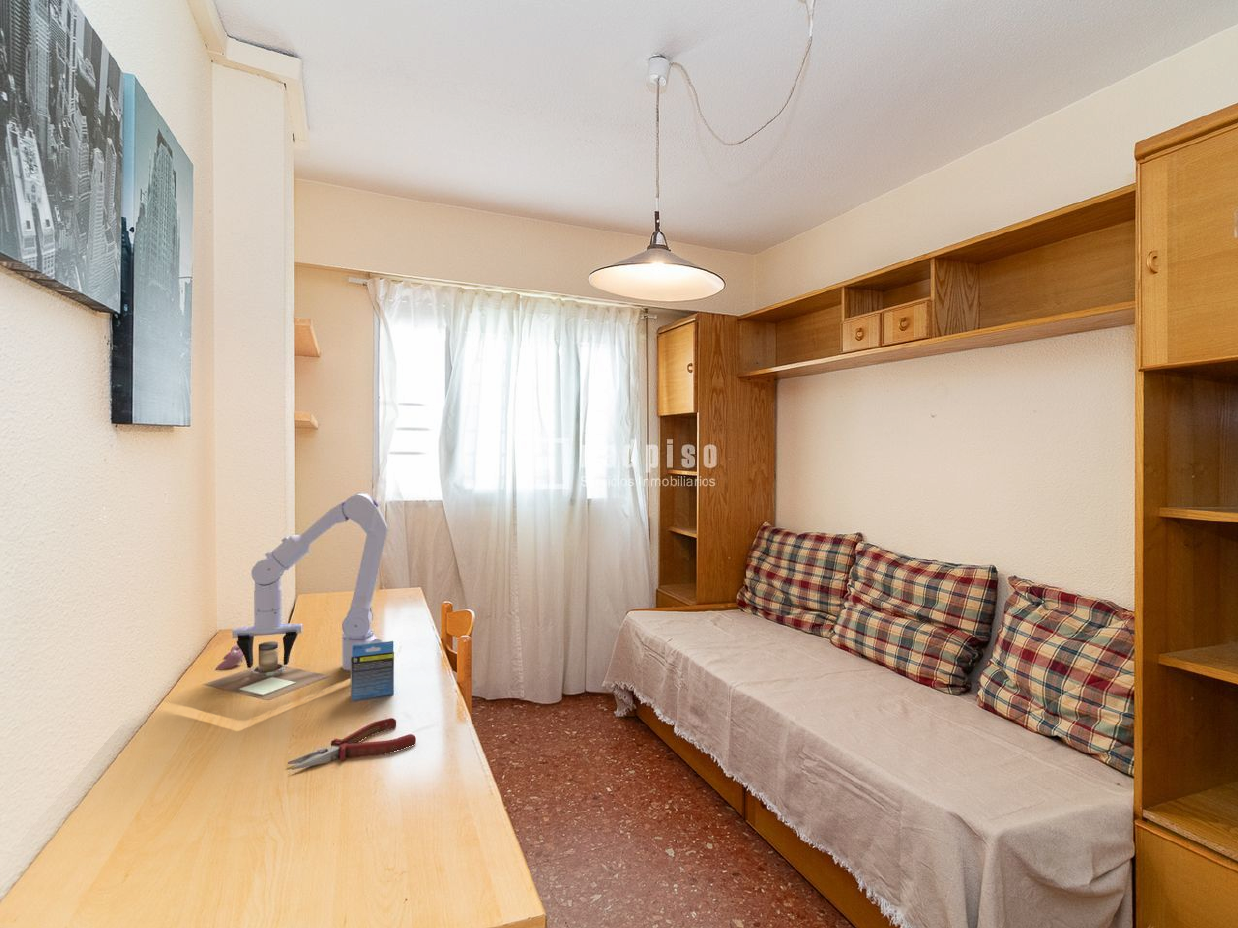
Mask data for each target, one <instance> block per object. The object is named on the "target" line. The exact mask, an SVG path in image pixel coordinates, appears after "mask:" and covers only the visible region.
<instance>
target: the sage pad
mask: <svg viewBox="0 0 1238 928" xmlns="http://www.w3.org/2000/svg"><path fill="white" fill-rule="evenodd" d="M294 684H296V682H292V681H288V680H283V679H279V678H274V677H271V678H268V679H265V680H263V681H260V682H257V683H254V684H251V685H248V686H246V687H243V688H240V689H239V690H240V691H244V692H248V693H252V694H256V695H261V696H265V695H268V694H270V693H273V692H276V691H278V690H281V689H283V688H286V687H289V686H291V685H294Z"/></svg>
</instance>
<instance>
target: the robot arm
mask: <svg viewBox="0 0 1238 928" xmlns="http://www.w3.org/2000/svg"><path fill="white" fill-rule="evenodd" d="M349 520H351V521H353V522H354V523H355V524H357V525H359V527H360V528H361V529H362V530H363V531H364V533H365V534H366V538H365V542H364V545H363V550H362V555H361V561H360V565H359V569H358V573H357V578H356V582H355V586H354V591H353V596H352V600H351V603H350V607H349V610H348V611H347V613H346V616H345V618H343V621H342V623H341V629H342V632H343V633H342V634H341V642H342V643H341V649H342V650H341V651H342V652H341V656H342V657H341V660H342V661H341V662H342V663H341V666H342V669H343V670H345V671H351V657H352V645H359V644H369V643H378V642H383V640H382V639H380V638H378V637H377V636H376V635H375V634H374V633H375V632H374V630H373V629H372V628H371V623H372V621H373V620H374V619H373V618H374V613H373V607H372V605H373V600H374V596H375V595H374V594H375V589H376V585H377V580H378V577H379V576H378V575H379V570H380V567H381V562H382V557H383V553H384V550H385V549H384V547H385V543H386V539H387V536H388V534H387V533H388V524H387V522H386V520H385V517H384V515H383V512H382V510H381V508H380V505H379V503H378V502H377V501H376V500H375V499H374V497H373V496H372V495H370V494H369V493H366V492H357V493H355V494H353V495H351V496H350V497H348V498H347V499H345V500H344V501H342V502H340V503H339V504H337V505H336V506H333V507H332V508H331V509H329V510H328V511H327V512H326V513H324V515H322V516H321V517H320V518H319V519H317V521H315V522H314V523H313V524H312V525H311V526H309V527H308V528H307V529H305V530H304V532H302V533H301V534H292V535H289V536H285V537H284V538H283V539H281V542H282V543H280V544H279V545H277V547H275V548H274V549H273V550H272V551H267V553H265V554H264V555H265V558H262V559H261V560H258V561H257V562H256V564H254V566H252V569H251V573H250V574H251V578H252V580H253V581H254V595H253V597H254V598H253V599H254V601H253V603H254V604H253V605H254V606H253V608H254V610H253V611H254V612H253V615H254V617H253V618H254V621H253V622H254V625H250V626H243V627H235V628H234V629H232V632H231V633H232V639H237V640H236V645H238V646H239V648H240V649H241V651H242V653H243V658H244V660H245V662H246V667H247V669H250V668H253V667H254V638H255V637H259V636H260V637H261V636H262V637H263V636H273V635H284V636H283V637H282V641H283V642H282V643H283V664H284V665H285V666H287V665H289V662H290V657H291V653H292V649H293V646H294V643H295V641H296V640H297V637H298V635H299V634H302V633H303V628H304V627H303V625H304V624H303V623H283V602H282V601H283V599H282V597H283V589H282V576H283V575H284V573H285V571H288V570H289V569H291V568H292V567H293V566H294V565H295V564H297V563H298V562H299V561H301V560H302V559H303V558H305V556H306V555H308V554H309V553H310V549H311V544H312V543H314V541H316V540H317V539H318V538H320V537H321V536H322V535H323V534H324V533H326V532H328V530H329V529H331V528H333V527H334V526H335V525H336V524H340V523H345V522H347V521H349ZM379 650H380V648H374V647H372V648H371V649H366V652H370V651H379Z"/></svg>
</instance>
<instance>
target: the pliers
mask: <svg viewBox="0 0 1238 928" xmlns="http://www.w3.org/2000/svg"><path fill="white" fill-rule="evenodd" d="M394 727H395V728H396V727H397V720H396V719H395V718H392V717H389V718H386V719H382V720H378V721H375V722H372V723H369V724H367V725H365V726H363V727H361V728H359V729H358V730H356V731H354V732H352V733H351V734H349V735H347V736H346V737H344V738H342V739H341V738H334V739H333V740H331V742H330V746H329V747H328V746H325V747H321V748H319V749H316V750H313V751H312V752H309V753H306V754H304V755H302V756H299V757H297V758H295V759H292V760H290V761H288V762H287V765H294V766H292V767H291V770H292V771H293V770H297V769H298V770H299V769H303V768H307V767H312V766H319V765H323V764H326V763H329V762H331V760H336V759H340V762H342V763H343V762H345V760H346V758H347V759H348V758H359V757H360V756H361V757H369V755H371V756H380V755H379V754H382V755H386V754H385V753H389V754H391V753H390V752H394V751H397V750H401V749H404V748H406V747H409V746H412V745H414V744H415V745H416V741H417V740H416V736H415V734H411V733H409V734H406V735H402V736H400V737H397V738H394V739H389V740H380V741H379V740H378V741H377V740H376V741H368V742H367V741H366V742H362V741H363V740H362V739H364V738H365V737H367V738H369V737H371V736H373V735H376V734H378V733H377V732H379V733H382V732H385V731H384V730H386V731H388V729H389V730H392V729H391V728H393V729H395V728H394ZM381 731H382V732H381ZM375 733H376V734H375ZM372 734H373V735H372ZM368 736H369V737H368ZM361 740H362V741H361ZM364 740H365V739H364ZM359 741H361V742H359ZM358 742H359V743H358ZM415 745H414V746H415ZM412 747H413V746H412ZM409 748H410V747H409ZM406 749H407V748H406ZM404 750H405V749H404ZM401 751H402V750H401ZM394 753H395V752H394ZM295 764H296V765H295Z"/></svg>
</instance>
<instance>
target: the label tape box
mask: <svg viewBox="0 0 1238 928" xmlns="http://www.w3.org/2000/svg"><path fill="white" fill-rule="evenodd" d="M372 647H374V648H380V650H379V651H370V652H366V649H371V648H372ZM394 675H395V651H394V640H389V641H382V642H378V643H369V644H359V645H352V657H351V670H350V700H351V701H352V702H353V701H361V700H367V699H373V698H377V697H378V698H379V697H384V696H385V697H386V696H390V695H394V692H395V684H394V683H395V676H394Z"/></svg>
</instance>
